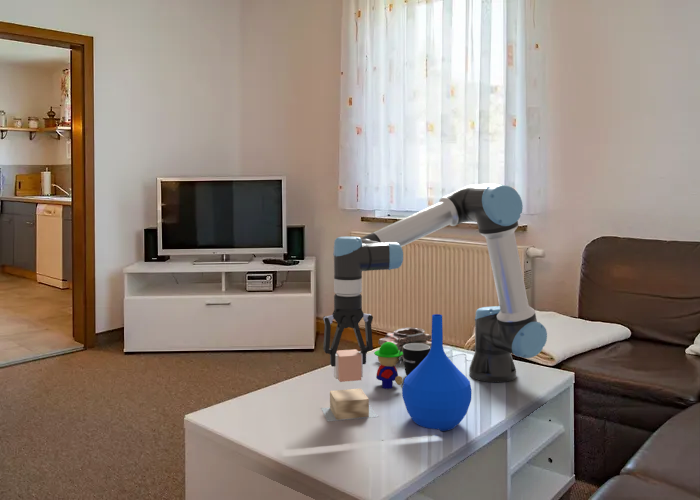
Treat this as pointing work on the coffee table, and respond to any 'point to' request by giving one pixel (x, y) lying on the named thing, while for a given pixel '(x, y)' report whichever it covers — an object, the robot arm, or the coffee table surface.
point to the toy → (389, 364)
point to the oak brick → (349, 404)
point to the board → (331, 417)
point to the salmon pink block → (349, 365)
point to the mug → (414, 355)
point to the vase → (436, 387)
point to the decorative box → (406, 337)
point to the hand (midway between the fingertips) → (348, 376)
